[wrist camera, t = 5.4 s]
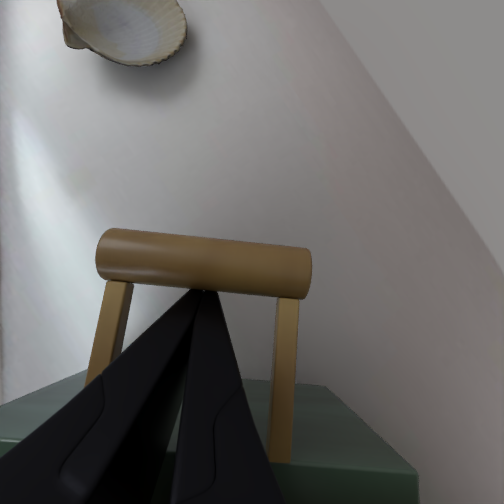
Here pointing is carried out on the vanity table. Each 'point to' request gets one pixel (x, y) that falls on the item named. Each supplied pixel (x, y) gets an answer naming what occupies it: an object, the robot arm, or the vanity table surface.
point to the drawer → (257, 391)
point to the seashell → (125, 29)
